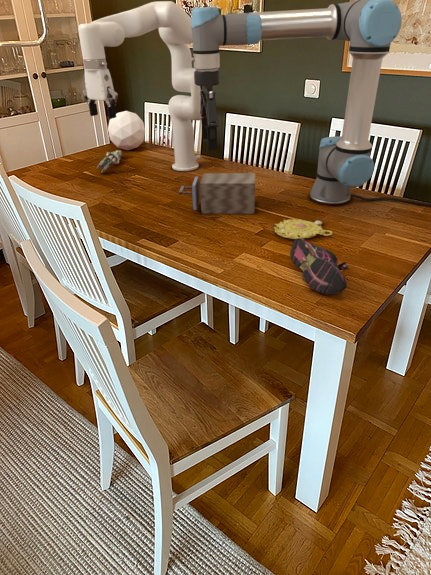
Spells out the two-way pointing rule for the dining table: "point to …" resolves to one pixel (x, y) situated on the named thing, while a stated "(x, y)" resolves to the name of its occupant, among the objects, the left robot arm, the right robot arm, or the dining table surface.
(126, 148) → the sphere
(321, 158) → the right robot arm
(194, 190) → the drawer
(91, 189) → the dining table surface
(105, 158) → the figurine
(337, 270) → the athletic shoe
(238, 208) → the cabinet
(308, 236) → the decorative object
